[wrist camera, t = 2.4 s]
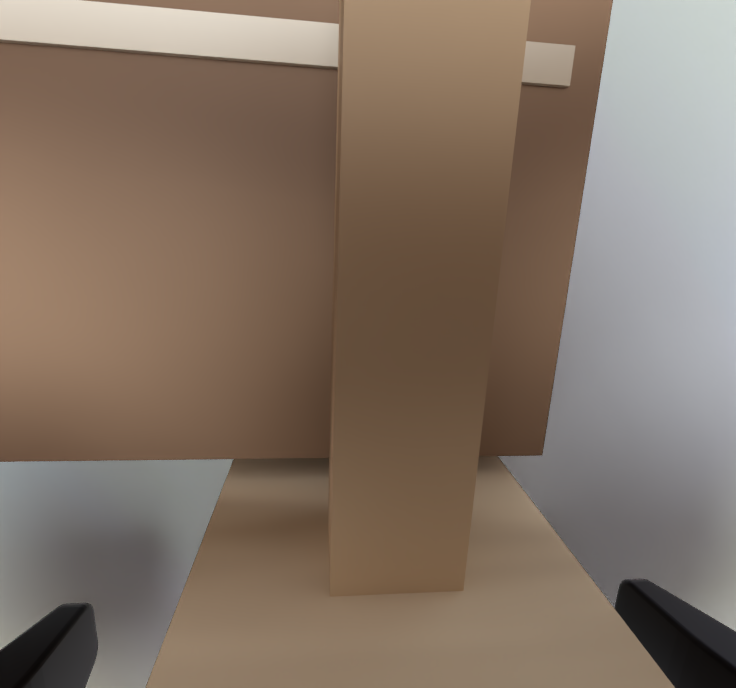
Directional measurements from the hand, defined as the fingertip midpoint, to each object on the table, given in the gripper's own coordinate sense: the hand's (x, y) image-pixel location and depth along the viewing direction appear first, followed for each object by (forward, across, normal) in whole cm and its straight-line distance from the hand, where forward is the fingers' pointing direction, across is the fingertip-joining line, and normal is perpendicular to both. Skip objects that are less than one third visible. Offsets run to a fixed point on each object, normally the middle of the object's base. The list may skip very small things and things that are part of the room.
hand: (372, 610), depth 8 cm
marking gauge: (+3, 0, -4) cm, 5 cm away
